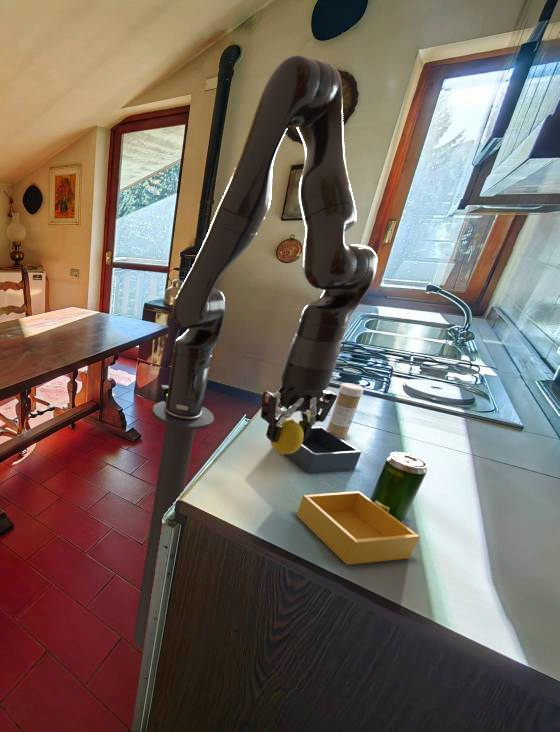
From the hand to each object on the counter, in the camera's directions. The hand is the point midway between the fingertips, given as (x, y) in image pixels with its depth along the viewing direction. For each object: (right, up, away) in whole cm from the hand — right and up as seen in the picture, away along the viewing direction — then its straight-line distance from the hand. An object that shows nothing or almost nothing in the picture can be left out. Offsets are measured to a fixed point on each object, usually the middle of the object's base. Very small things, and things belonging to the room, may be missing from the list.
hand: (285, 439), depth 78 cm
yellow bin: (+4, -15, -11) cm, 19 cm away
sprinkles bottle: (+26, -2, +21) cm, 34 cm away
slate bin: (+13, -6, +11) cm, 18 cm away
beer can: (+15, -13, -6) cm, 21 cm away
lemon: (0, -3, +1) cm, 4 cm away
